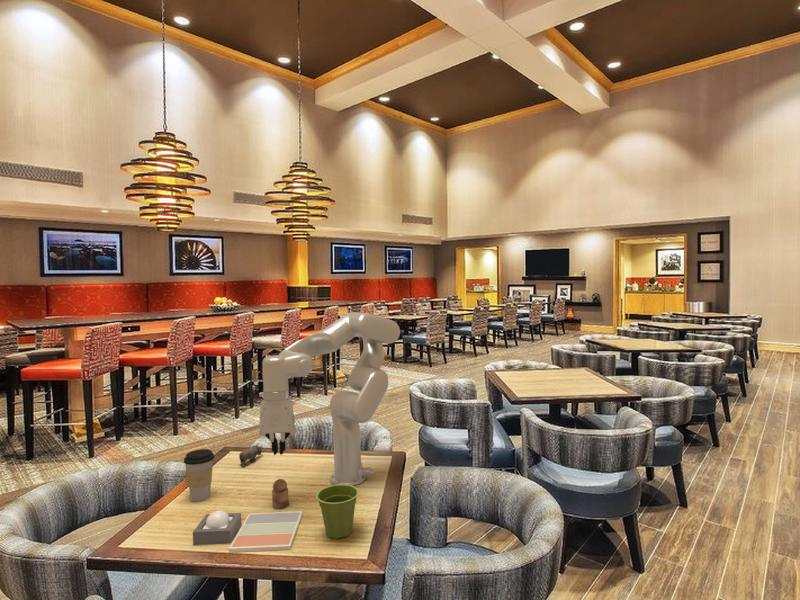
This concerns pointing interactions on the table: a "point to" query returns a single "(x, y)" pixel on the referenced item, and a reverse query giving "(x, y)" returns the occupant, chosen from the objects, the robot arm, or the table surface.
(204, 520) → the dome base
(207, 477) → the coffee cup
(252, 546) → the game board
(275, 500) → the walnut pawn
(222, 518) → the pop dome
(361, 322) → the robot arm
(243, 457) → the rhino figurine
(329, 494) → the plant pot
